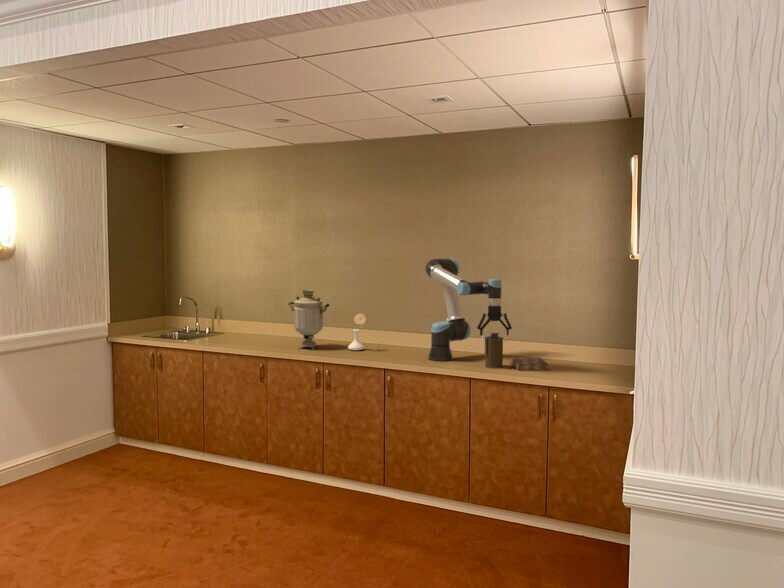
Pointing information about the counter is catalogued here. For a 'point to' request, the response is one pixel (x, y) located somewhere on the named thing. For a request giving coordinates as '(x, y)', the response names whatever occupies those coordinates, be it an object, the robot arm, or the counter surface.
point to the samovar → (308, 317)
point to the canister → (494, 351)
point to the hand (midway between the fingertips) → (494, 341)
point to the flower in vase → (356, 344)
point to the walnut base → (529, 364)
